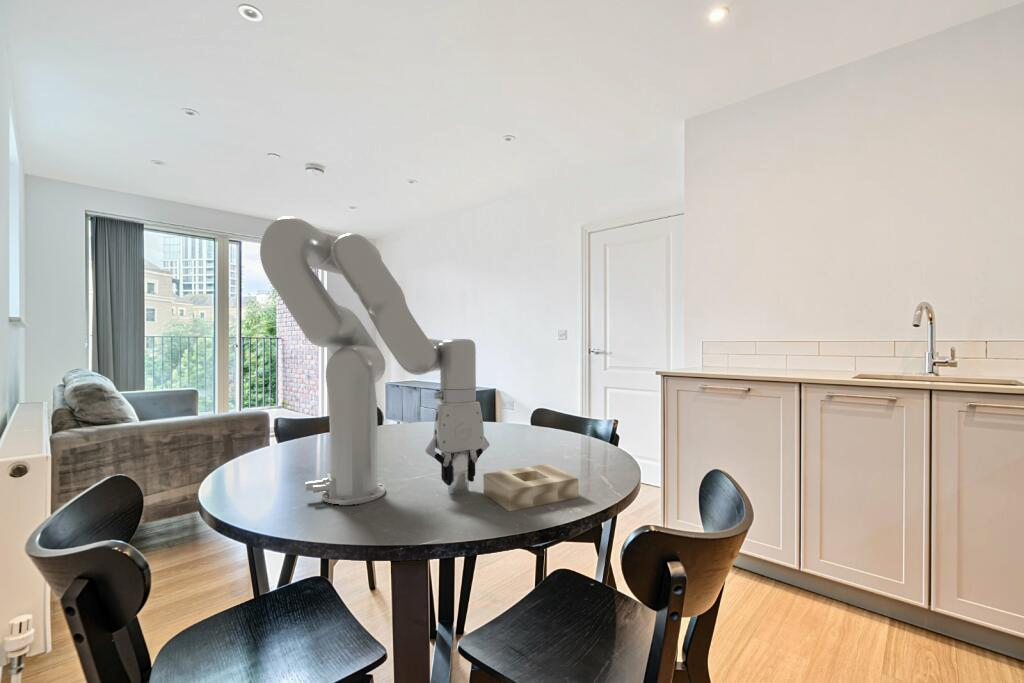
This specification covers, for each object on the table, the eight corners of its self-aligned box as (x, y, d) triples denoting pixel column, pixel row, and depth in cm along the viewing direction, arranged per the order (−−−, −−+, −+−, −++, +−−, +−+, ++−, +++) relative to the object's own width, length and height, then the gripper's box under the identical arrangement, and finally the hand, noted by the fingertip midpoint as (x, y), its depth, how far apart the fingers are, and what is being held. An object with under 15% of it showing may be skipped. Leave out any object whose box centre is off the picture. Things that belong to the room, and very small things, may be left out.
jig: (509, 511, 85) (509, 490, 85) (483, 492, 96) (483, 473, 96) (578, 497, 93) (578, 477, 93) (547, 481, 103) (547, 463, 103)
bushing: (452, 496, 93) (452, 453, 93) (445, 490, 97) (445, 448, 97) (472, 493, 95) (471, 450, 95) (464, 487, 99) (464, 446, 99)
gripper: (425, 401, 89) (425, 493, 89) (501, 396, 97) (501, 480, 97) (414, 397, 96) (414, 482, 96) (486, 392, 104) (487, 471, 104)
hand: (458, 480), depth 96 cm, fingers closed on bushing, 4 cm apart
